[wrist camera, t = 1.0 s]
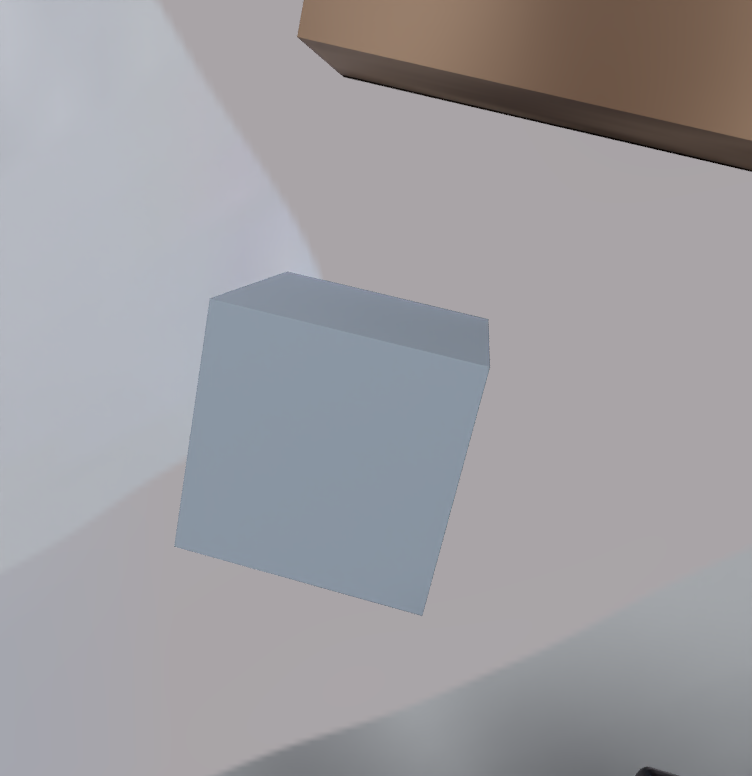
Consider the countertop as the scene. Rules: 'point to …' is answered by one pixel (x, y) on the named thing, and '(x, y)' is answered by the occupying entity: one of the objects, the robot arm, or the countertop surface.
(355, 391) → the slate cube
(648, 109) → the walnut block
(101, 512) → the countertop surface
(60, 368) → the countertop surface
